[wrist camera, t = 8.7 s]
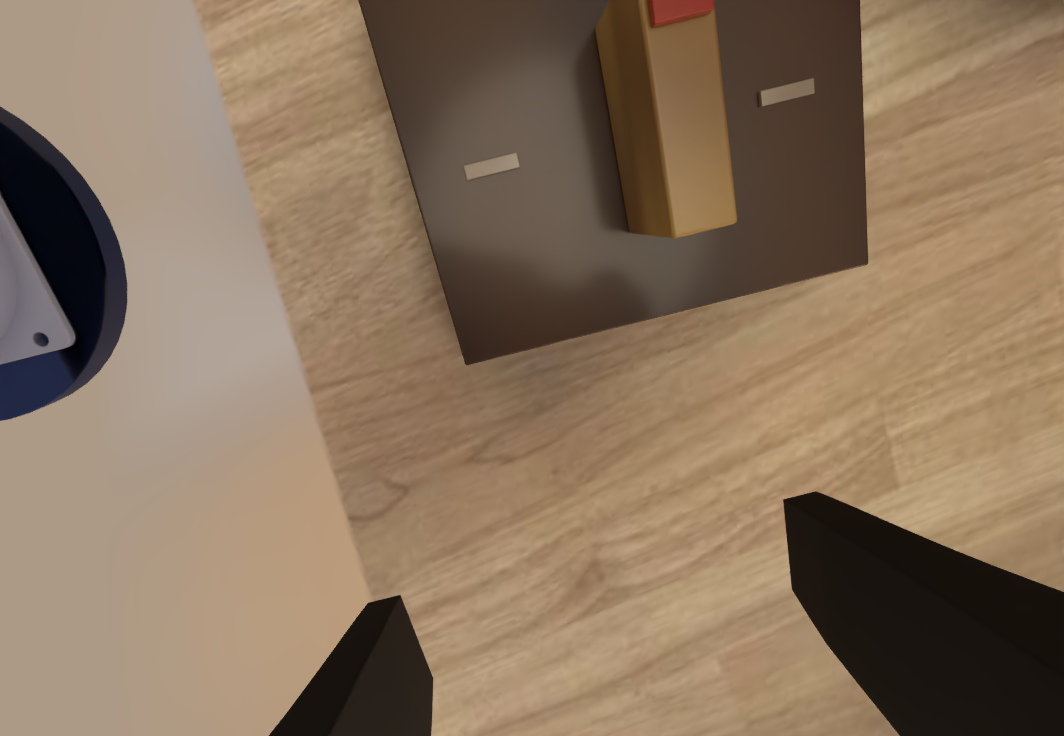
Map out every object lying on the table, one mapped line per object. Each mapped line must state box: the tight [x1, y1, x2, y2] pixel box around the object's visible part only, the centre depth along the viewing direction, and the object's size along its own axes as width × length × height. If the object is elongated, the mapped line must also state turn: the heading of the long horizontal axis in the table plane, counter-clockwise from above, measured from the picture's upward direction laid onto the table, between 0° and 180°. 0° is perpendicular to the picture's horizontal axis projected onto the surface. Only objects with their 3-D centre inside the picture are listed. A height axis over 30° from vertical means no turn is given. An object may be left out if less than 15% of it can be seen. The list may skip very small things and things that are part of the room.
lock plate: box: [359, 0, 868, 365], centre depth 14 cm, size 12×10×3 cm
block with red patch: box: [595, 0, 737, 238], centre depth 11 cm, size 5×1×4 cm, turn 13°
